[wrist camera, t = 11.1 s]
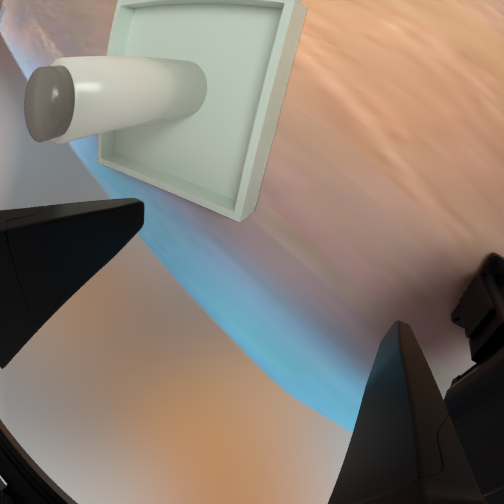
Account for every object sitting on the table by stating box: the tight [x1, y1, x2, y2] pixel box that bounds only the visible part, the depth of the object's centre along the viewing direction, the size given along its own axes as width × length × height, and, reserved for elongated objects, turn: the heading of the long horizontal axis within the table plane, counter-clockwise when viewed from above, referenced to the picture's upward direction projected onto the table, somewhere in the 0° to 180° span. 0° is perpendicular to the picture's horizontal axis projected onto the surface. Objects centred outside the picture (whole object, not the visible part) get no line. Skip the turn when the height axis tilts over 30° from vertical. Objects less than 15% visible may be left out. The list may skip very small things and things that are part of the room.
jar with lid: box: [24, 56, 207, 144], centre depth 15 cm, size 5×5×12 cm
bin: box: [97, 0, 308, 222], centre depth 20 cm, size 16×16×2 cm
